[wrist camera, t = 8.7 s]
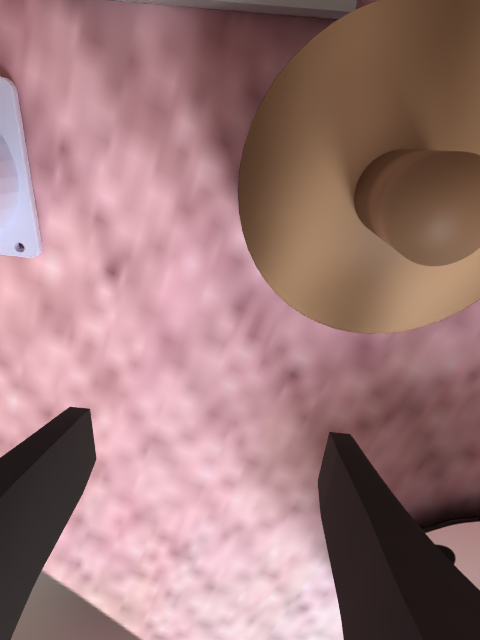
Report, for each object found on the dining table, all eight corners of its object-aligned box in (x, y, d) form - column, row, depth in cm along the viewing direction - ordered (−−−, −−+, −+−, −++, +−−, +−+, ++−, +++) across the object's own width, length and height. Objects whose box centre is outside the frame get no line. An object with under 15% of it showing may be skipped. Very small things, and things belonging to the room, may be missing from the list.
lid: (236, 320, 17) (229, 381, 13) (241, -2, 12) (232, -85, 8) (494, 330, 16) (577, 396, 12) (612, 0, 11) (826, -86, 7)
